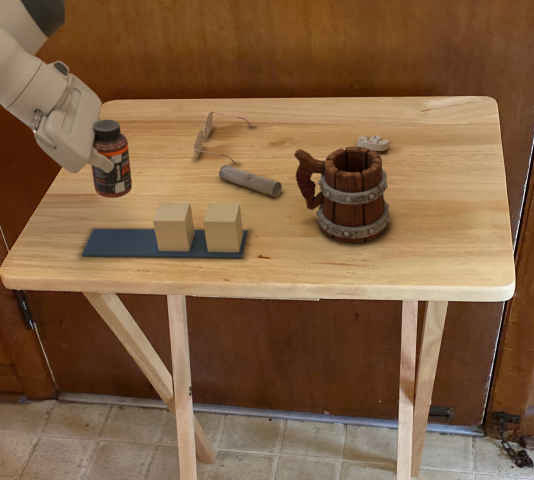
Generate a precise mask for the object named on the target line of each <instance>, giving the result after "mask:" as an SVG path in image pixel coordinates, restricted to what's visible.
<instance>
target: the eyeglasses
mask: <svg viewBox="0 0 534 480" xmlns="http://www.w3.org/2000/svg"><path fill="white" fill-rule="evenodd" d="M214 114H217V115H222V116H226V117H227V116H228V117H233V118H237V119H241V120H244V121H245V122H246V123H247V124H248V126H249V127H250V129H253V126H251V124H250V123H249V120H247V119H246V118H244V117H240V116H234V115H230V114H226V113H221V112H218V111H217V112H216V111H213V110H210V111H209V113H208V114H207V116H206V118H205V121H204V128H203V129H200V130H199V132H198V133H197V135H196V138H195V140H194V143H193V147H192V150H193V151H194V157H195V159H197V158H198V157H199V156H200V153H205V154H211V155H216V156H220V157H226V158H228V159H230V161H232V163H233V164H234V165H237V163H236V161H234V160H233V159H232V157H230V156H228V155H224V154H218V153H214V152H209V151H205V150H202V148H203V143H204V142H206V141H207V138H208V137H209V135H210V134H211V131H212V129H213V122H214V121H213V120H214V119H213V117H214V116H213V115H214Z"/></svg>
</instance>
